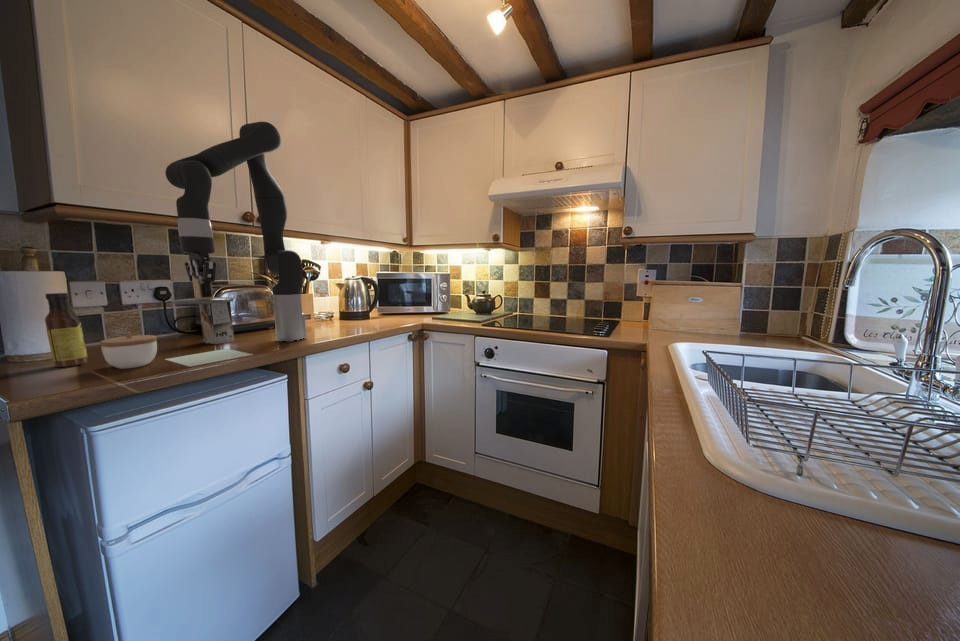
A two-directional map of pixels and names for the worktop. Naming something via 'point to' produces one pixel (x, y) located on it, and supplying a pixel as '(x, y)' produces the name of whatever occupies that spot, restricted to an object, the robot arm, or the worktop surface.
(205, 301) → the lid
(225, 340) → the coffee box
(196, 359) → the mat
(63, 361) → the sauce bottle
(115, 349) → the lidded jar
